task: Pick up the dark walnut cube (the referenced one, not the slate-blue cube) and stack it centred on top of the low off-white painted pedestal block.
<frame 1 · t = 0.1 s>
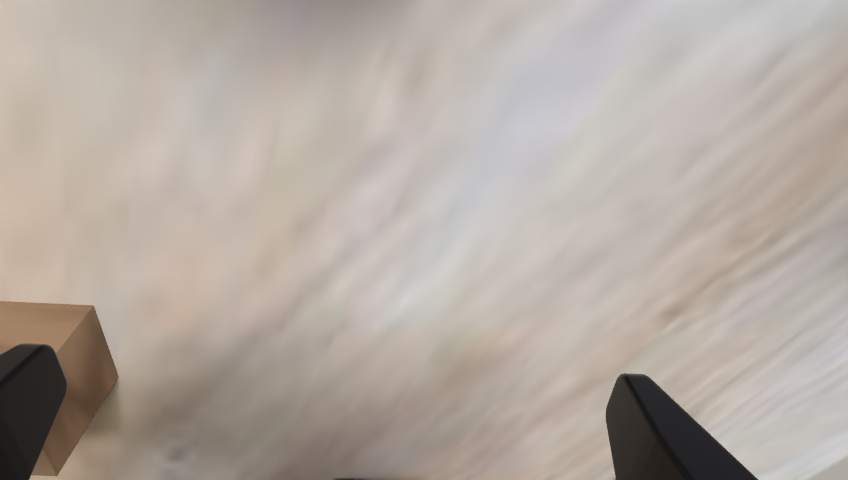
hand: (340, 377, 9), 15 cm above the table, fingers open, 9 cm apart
walnut cube: (58, 339, 29), on the table
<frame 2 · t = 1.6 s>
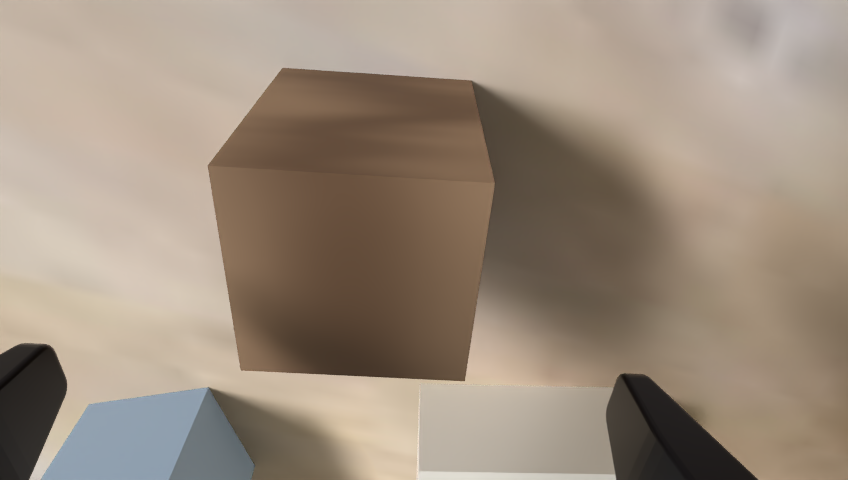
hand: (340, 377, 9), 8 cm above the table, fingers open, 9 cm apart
walnut cube: (375, 159, 16), on the table
pedestal block: (511, 445, 23), on the table
slate-blue cube: (176, 434, 23), on the table
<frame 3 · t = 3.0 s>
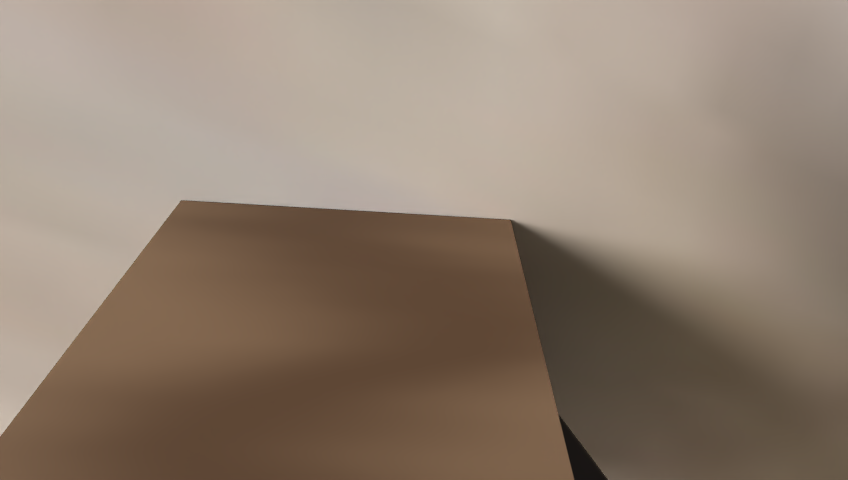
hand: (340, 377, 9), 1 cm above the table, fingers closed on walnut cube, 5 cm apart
walnut cube: (348, 332, 10), on the table, touching gripper
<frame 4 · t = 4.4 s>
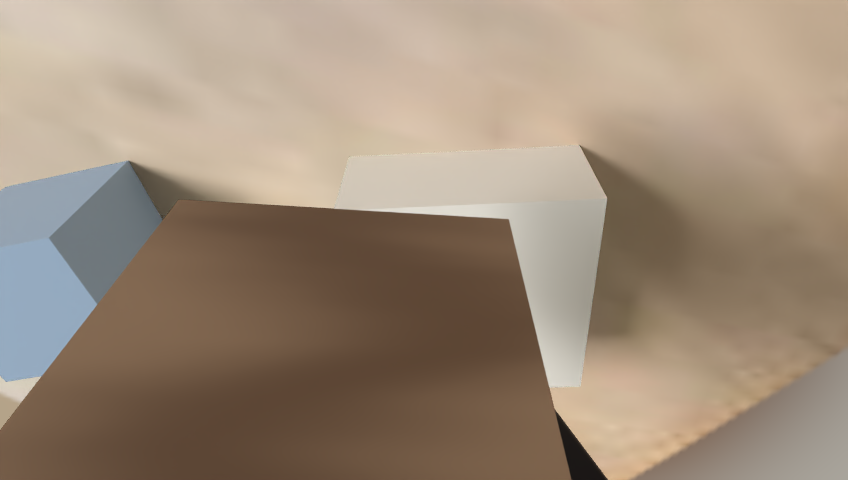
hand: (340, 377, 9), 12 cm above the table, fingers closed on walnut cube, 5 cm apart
walnut cube: (347, 331, 10), point 10 cm above the table, touching gripper
pedestal block: (464, 241, 22), on the table
slate-blue cube: (104, 229, 21), on the table
when the fingers open (6 cm above the table, at t = 6.0 s): walnut cube drops 1 cm, resting on pedestal block.
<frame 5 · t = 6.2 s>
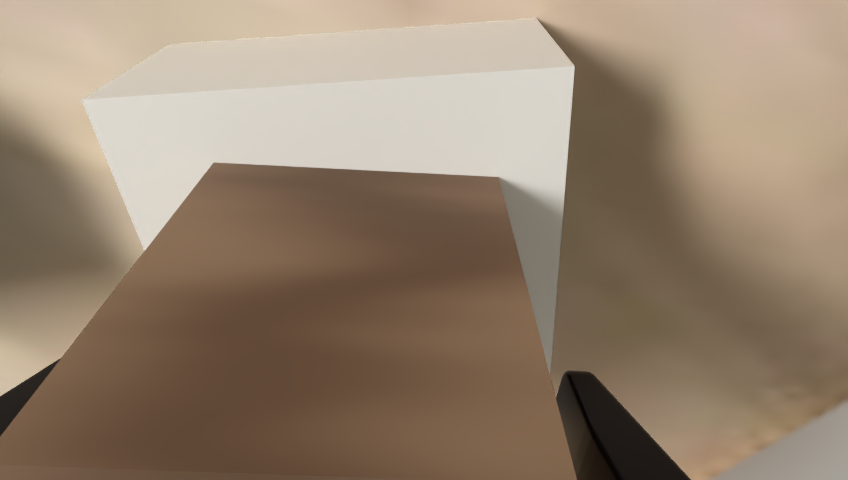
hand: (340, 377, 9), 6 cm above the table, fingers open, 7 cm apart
walnut cube: (358, 283, 11), point 4 cm above the table, touching pedestal block
pedestal block: (373, 188, 14), on the table, touching walnut cube
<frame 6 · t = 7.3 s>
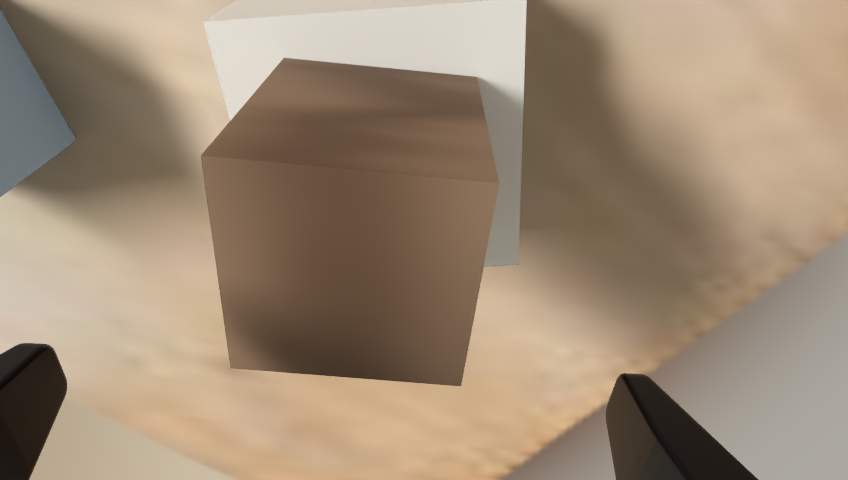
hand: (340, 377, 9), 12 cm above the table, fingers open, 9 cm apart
walnut cube: (376, 155, 16), point 4 cm above the table, touching pedestal block
pedestal block: (388, 109, 19), on the table, touching walnut cube
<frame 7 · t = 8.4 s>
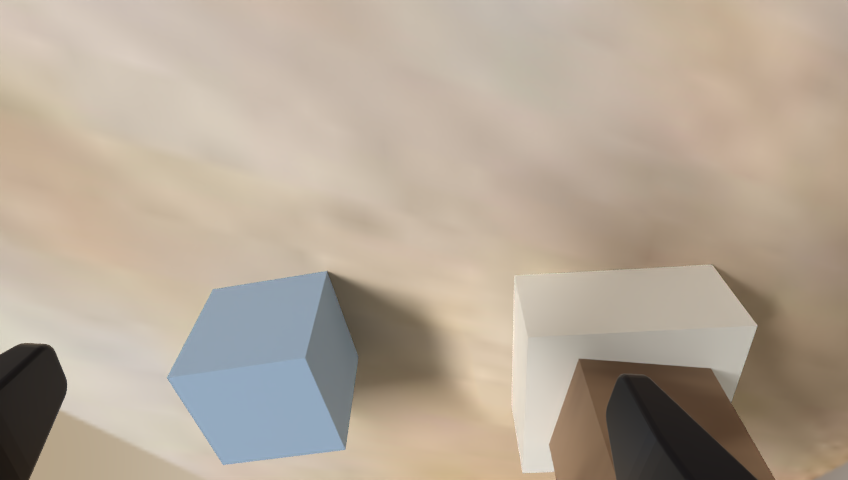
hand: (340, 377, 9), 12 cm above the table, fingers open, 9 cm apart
walnut cube: (625, 408, 22), point 4 cm above the table, touching pedestal block
pedestal block: (600, 336, 25), on the table, touching walnut cube
slate-blue cube: (289, 323, 24), on the table
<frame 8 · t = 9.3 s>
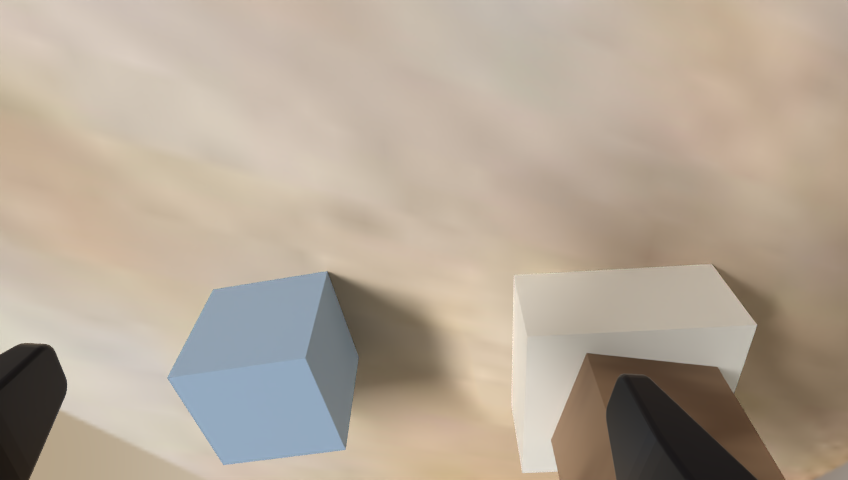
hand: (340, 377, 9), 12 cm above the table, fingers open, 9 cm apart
walnut cube: (629, 405, 22), point 4 cm above the table, touching pedestal block
pedestal block: (600, 336, 25), on the table, touching walnut cube
slate-blue cube: (289, 323, 24), on the table
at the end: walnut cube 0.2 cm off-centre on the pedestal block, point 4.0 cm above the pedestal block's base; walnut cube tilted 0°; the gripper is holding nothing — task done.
